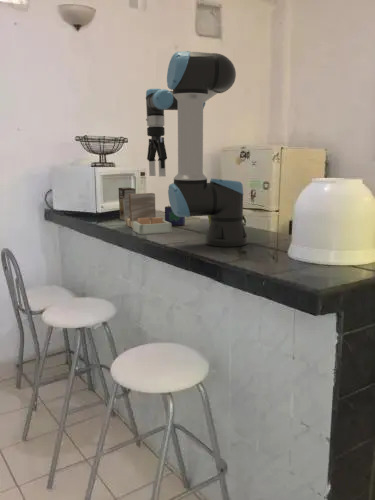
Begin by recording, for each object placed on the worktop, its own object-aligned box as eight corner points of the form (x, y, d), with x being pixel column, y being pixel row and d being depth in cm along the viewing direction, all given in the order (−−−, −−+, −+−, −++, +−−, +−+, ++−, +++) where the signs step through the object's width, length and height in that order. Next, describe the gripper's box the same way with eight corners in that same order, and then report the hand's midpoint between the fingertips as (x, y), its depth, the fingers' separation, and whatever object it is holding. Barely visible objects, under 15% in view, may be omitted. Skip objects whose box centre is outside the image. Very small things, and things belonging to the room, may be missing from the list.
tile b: (148, 229, 200) (150, 230, 197) (138, 230, 198) (140, 231, 196) (147, 217, 199) (149, 218, 196) (137, 218, 197) (139, 219, 195)
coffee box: (119, 219, 238) (117, 187, 235) (131, 218, 240) (130, 187, 237) (124, 221, 230) (123, 188, 226) (136, 220, 232) (135, 188, 229)
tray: (171, 232, 194) (171, 223, 193) (140, 234, 189) (140, 225, 188) (163, 228, 205) (162, 219, 204) (133, 230, 200) (132, 221, 199)
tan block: (155, 220, 210) (154, 193, 207) (132, 221, 206) (131, 194, 204) (152, 219, 214) (152, 193, 211) (129, 220, 210) (128, 194, 207)
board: (160, 228, 204) (160, 222, 203) (136, 230, 200) (135, 223, 200) (147, 222, 222) (147, 216, 222) (125, 224, 219) (125, 218, 218)
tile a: (160, 228, 202) (162, 229, 199) (151, 229, 201) (152, 230, 198) (160, 217, 201) (162, 217, 198) (150, 217, 200) (152, 218, 197)
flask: (185, 225, 214) (184, 202, 212) (184, 226, 211) (184, 202, 209) (165, 225, 214) (164, 202, 212) (164, 226, 211) (164, 203, 209)
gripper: (139, 128, 210) (141, 175, 214) (156, 124, 187) (158, 176, 191) (154, 128, 212) (156, 175, 216) (173, 124, 190) (175, 176, 194)
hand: (157, 176), depth 204 cm, fingers open, 13 cm apart
